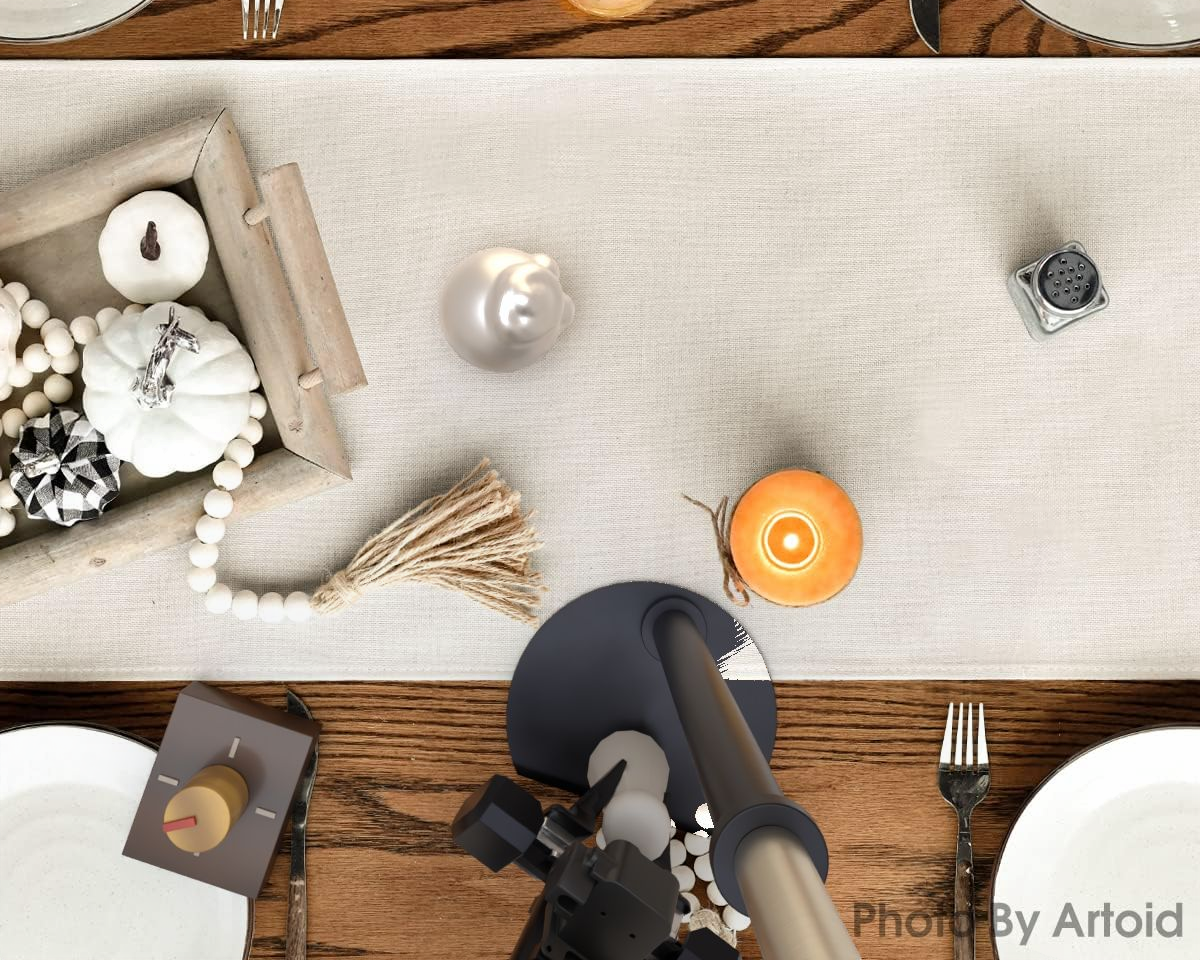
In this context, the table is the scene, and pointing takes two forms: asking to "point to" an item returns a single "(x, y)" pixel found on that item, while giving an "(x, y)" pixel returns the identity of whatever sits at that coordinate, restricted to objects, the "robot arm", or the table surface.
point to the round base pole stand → (680, 746)
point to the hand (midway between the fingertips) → (644, 778)
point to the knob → (206, 809)
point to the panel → (250, 747)
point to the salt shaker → (634, 791)
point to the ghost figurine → (504, 308)
